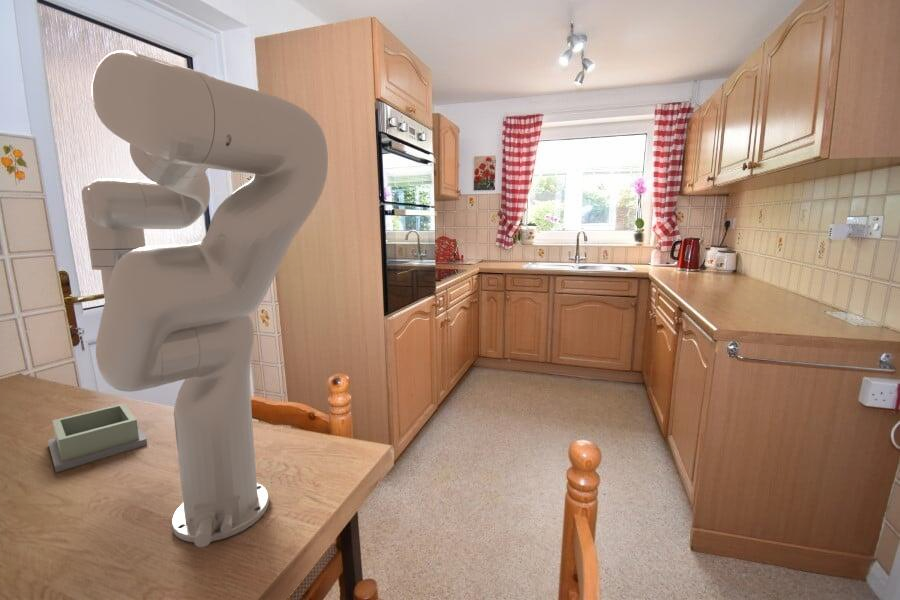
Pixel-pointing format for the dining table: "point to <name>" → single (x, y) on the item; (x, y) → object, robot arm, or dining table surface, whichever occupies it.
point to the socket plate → (94, 436)
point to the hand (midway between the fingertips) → (132, 362)
